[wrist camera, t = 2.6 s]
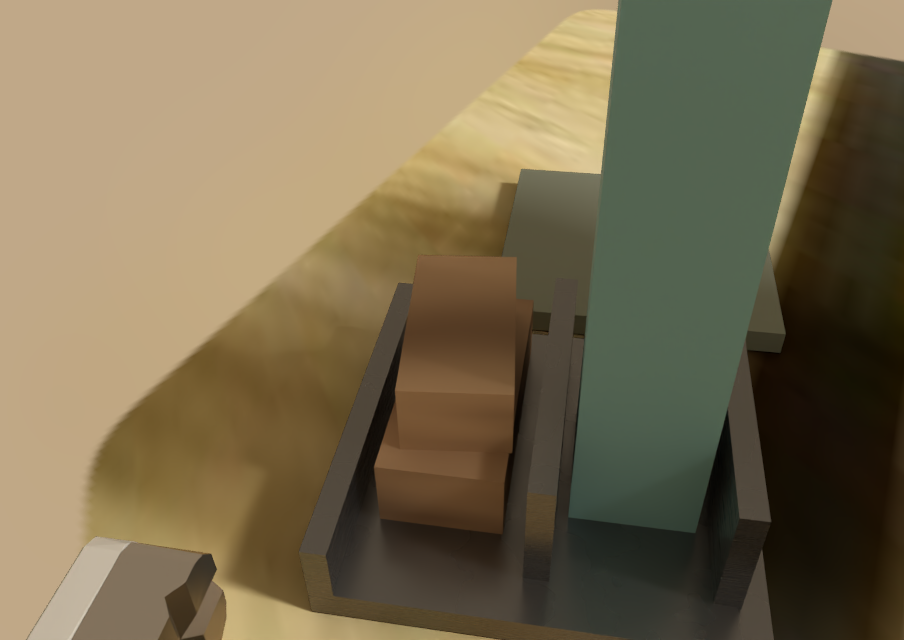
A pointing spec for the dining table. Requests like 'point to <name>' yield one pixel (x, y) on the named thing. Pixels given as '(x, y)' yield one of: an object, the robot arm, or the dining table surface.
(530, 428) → the rack
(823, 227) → the dining table surface
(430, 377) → the upper walnut offcut
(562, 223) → the rubber mat
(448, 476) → the lower walnut offcut
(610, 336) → the teal rectangular block
